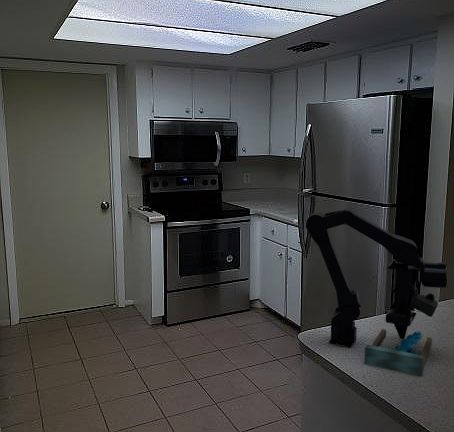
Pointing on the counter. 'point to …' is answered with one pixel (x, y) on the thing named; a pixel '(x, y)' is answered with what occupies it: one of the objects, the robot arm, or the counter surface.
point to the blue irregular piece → (409, 343)
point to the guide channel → (396, 356)
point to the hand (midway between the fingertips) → (402, 338)
